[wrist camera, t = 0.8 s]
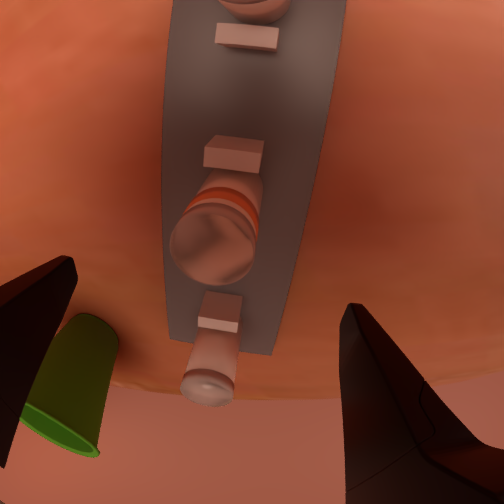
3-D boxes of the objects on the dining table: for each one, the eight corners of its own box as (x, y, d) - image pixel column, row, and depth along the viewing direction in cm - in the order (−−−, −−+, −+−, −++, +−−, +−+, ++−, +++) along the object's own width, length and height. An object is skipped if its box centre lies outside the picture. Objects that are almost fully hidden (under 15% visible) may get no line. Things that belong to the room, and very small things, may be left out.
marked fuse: (268, 164, 15) (259, 219, 10) (259, 218, 17) (249, 291, 12) (207, 156, 15) (168, 206, 10) (203, 210, 17) (170, 278, 12)
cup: (158, 351, 26) (121, 461, 17) (105, 369, 30) (69, 454, 20) (84, 281, 22) (15, 390, 13) (43, 313, 26) (-9, 398, 17)
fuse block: (347, -33, 10) (362, -54, 7) (271, 345, 24) (269, 380, 21) (188, -47, 10) (166, -69, 7) (173, 329, 24) (161, 362, 21)
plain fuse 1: (246, 310, 21) (234, 385, 16) (241, 339, 23) (231, 410, 18) (200, 302, 21) (178, 375, 16) (200, 332, 23) (181, 401, 18)
